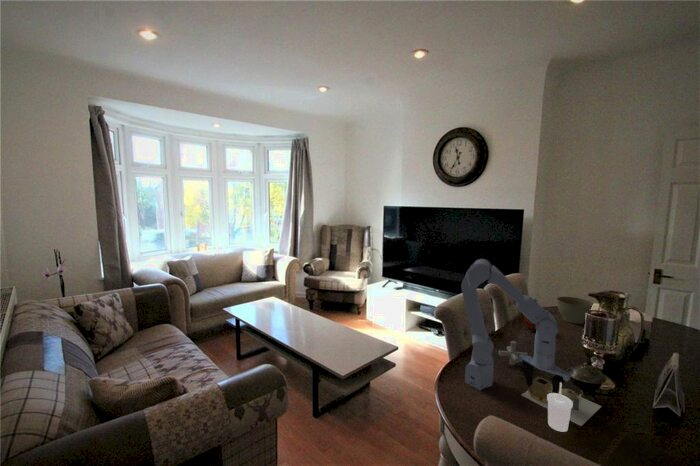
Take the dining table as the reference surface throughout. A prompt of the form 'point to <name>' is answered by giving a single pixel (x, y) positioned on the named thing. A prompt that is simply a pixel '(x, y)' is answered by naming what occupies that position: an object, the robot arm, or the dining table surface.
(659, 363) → the dining table surface
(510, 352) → the pipe connector
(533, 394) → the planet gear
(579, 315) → the planter bowl
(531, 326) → the dragon fruit
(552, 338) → the robot arm
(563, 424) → the beverage cup
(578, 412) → the plate
